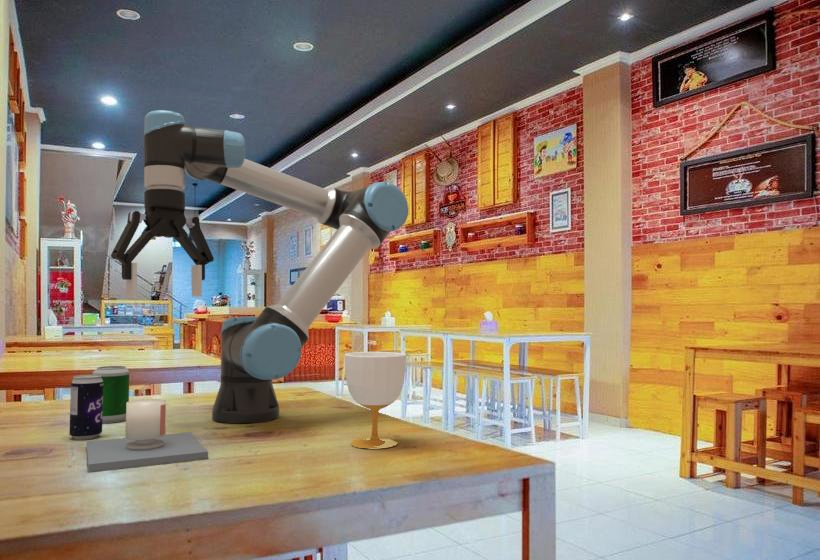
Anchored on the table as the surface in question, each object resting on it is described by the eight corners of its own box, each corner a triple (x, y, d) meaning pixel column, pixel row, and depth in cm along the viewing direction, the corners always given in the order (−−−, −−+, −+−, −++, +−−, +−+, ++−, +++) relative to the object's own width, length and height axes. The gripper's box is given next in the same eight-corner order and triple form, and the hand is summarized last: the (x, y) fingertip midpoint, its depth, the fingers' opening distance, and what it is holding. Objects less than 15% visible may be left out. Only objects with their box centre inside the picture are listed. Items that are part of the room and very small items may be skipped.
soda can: (135, 419, 137) (136, 366, 138) (103, 425, 131) (104, 369, 132) (115, 416, 141) (117, 364, 142) (84, 421, 135) (85, 367, 136)
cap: (122, 434, 108) (123, 400, 108) (160, 430, 111) (161, 397, 112) (129, 441, 102) (130, 405, 103) (169, 437, 106) (169, 402, 106)
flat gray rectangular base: (190, 438, 119) (190, 424, 119) (207, 458, 103) (208, 442, 103) (86, 448, 110) (87, 433, 110) (88, 472, 94) (88, 454, 95)
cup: (418, 444, 115) (418, 354, 116) (373, 454, 107) (374, 357, 107) (375, 434, 123) (376, 350, 124) (330, 444, 115) (331, 353, 115)
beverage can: (88, 441, 116) (89, 378, 116) (62, 439, 117) (64, 377, 117) (108, 435, 121) (110, 374, 122) (83, 433, 122) (85, 374, 123)
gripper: (210, 199, 133) (211, 296, 132) (91, 184, 114) (91, 298, 113) (229, 195, 128) (231, 295, 128) (109, 179, 109) (110, 297, 108)
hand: (165, 297), depth 120 cm, fingers open, 13 cm apart
